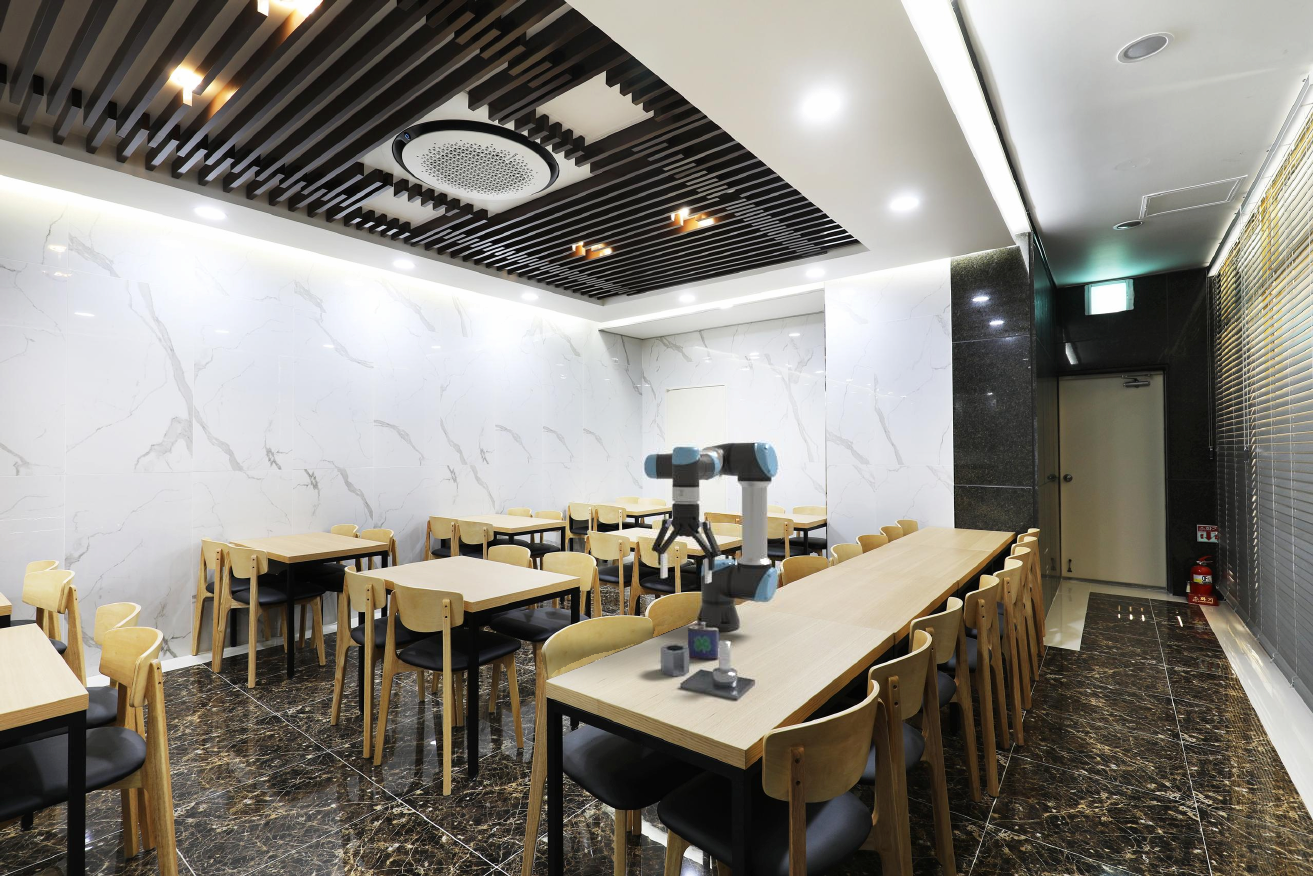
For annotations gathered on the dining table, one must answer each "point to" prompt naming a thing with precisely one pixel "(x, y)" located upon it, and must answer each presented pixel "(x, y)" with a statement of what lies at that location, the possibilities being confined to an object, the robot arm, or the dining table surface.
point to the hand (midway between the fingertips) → (685, 580)
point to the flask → (703, 642)
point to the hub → (675, 660)
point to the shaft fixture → (720, 678)
